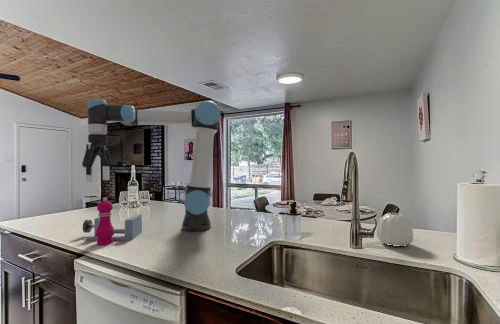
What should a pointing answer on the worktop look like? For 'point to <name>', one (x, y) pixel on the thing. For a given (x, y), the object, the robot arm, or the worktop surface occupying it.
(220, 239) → the worktop surface
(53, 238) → the worktop surface
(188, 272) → the worktop surface
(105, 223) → the pepper mill
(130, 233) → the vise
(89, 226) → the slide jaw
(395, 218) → the white pumpkin
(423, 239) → the worktop surface
